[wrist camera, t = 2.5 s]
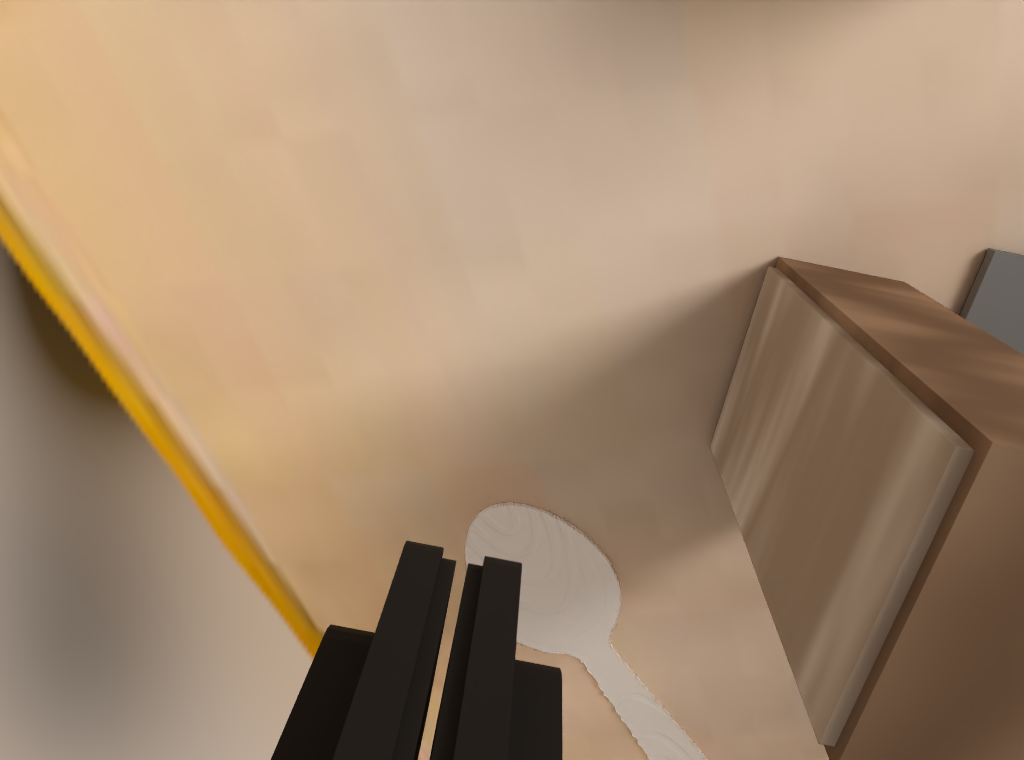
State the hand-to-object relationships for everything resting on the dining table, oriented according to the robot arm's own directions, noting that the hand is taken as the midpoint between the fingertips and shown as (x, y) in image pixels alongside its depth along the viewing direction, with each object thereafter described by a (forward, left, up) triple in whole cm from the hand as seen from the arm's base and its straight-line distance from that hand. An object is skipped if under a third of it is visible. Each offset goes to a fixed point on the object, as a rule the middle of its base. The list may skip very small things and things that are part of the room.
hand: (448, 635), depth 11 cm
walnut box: (-9, 0, -15) cm, 18 cm away
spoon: (-6, +14, -16) cm, 22 cm away
